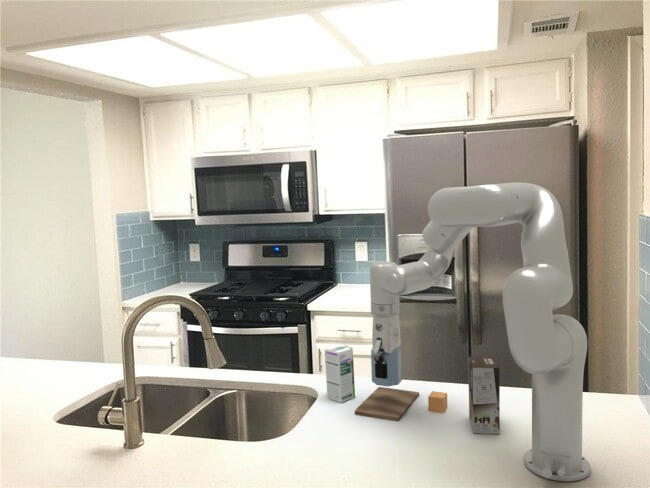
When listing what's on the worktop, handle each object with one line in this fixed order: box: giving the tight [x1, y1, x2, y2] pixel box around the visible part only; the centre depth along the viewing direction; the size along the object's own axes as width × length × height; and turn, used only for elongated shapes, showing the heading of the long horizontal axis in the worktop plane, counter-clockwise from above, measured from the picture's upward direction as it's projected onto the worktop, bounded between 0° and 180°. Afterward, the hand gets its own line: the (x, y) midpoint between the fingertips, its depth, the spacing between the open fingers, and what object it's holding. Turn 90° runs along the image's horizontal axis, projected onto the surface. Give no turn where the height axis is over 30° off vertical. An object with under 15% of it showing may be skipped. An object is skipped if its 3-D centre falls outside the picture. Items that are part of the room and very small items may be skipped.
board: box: [354, 386, 420, 422], centre depth 148 cm, size 18×12×1 cm, turn 154°
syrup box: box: [324, 344, 356, 404], centre depth 153 cm, size 6×6×14 cm
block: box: [427, 390, 448, 414], centre depth 144 cm, size 4×4×4 cm
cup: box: [370, 346, 403, 388], centre depth 147 cm, size 7×7×9 cm
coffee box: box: [467, 355, 501, 435], centre depth 132 cm, size 9×6×16 cm
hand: (386, 372), depth 147 cm, fingers closed on cup, 7 cm apart
